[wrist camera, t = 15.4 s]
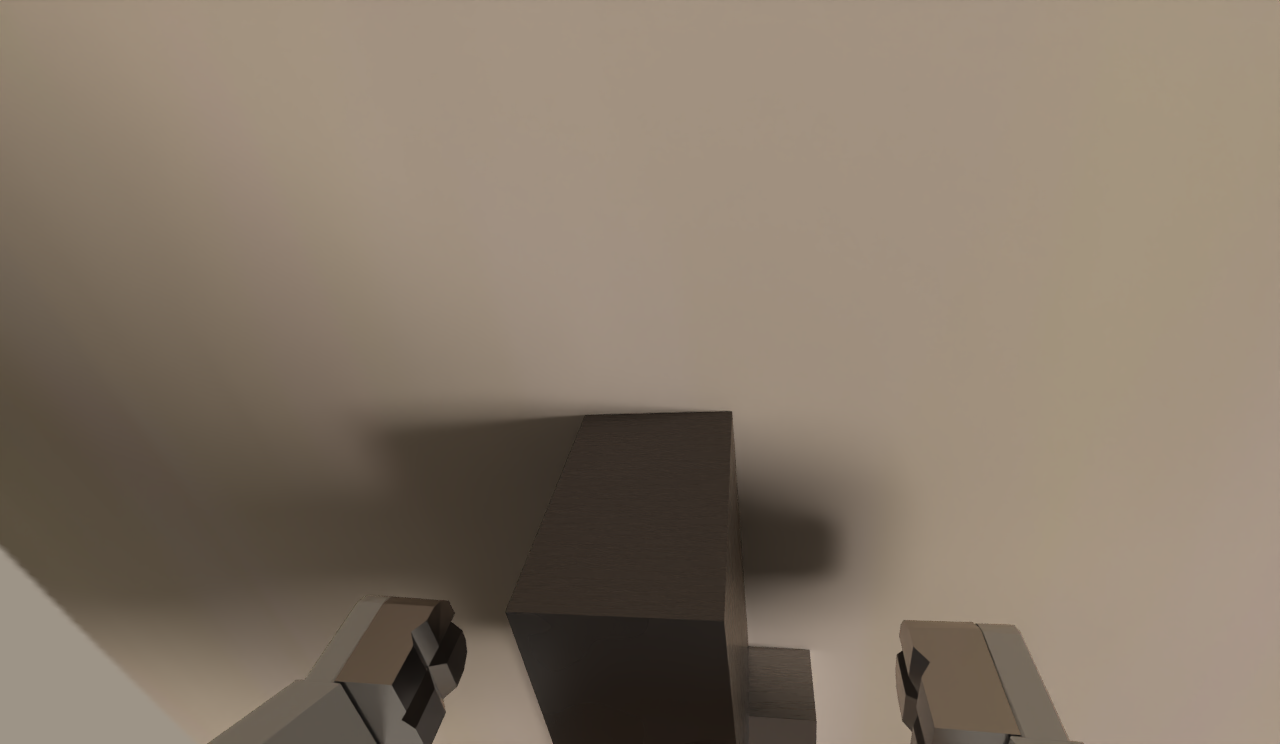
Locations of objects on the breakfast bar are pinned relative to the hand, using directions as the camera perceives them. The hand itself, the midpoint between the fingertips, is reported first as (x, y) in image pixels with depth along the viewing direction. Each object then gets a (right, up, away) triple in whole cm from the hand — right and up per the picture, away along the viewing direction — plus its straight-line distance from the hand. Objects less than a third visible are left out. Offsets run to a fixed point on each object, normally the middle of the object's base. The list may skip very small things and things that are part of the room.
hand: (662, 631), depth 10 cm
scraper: (+1, -4, +5) cm, 7 cm away
